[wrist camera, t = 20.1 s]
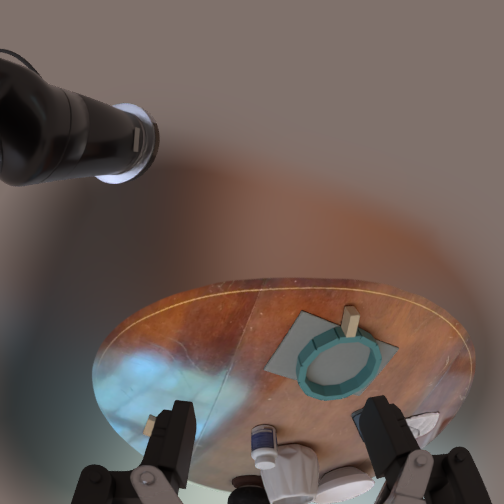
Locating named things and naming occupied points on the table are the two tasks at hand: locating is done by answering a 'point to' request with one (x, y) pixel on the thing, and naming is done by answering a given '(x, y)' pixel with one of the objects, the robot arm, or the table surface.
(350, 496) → the bowl
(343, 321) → the hoop
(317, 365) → the mat
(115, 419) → the table surface
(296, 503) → the vase
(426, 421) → the cloth
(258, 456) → the pill bottle
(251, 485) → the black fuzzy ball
